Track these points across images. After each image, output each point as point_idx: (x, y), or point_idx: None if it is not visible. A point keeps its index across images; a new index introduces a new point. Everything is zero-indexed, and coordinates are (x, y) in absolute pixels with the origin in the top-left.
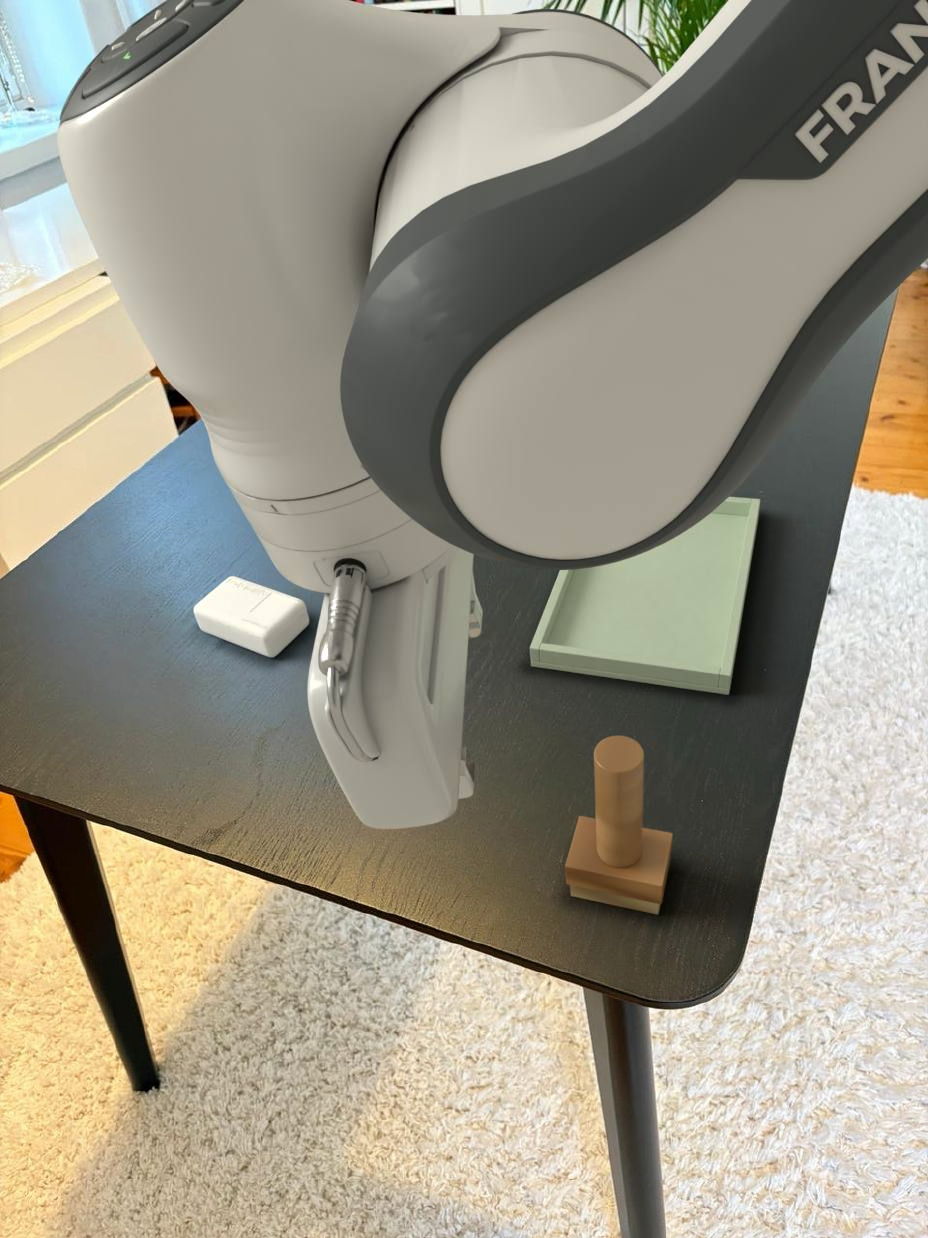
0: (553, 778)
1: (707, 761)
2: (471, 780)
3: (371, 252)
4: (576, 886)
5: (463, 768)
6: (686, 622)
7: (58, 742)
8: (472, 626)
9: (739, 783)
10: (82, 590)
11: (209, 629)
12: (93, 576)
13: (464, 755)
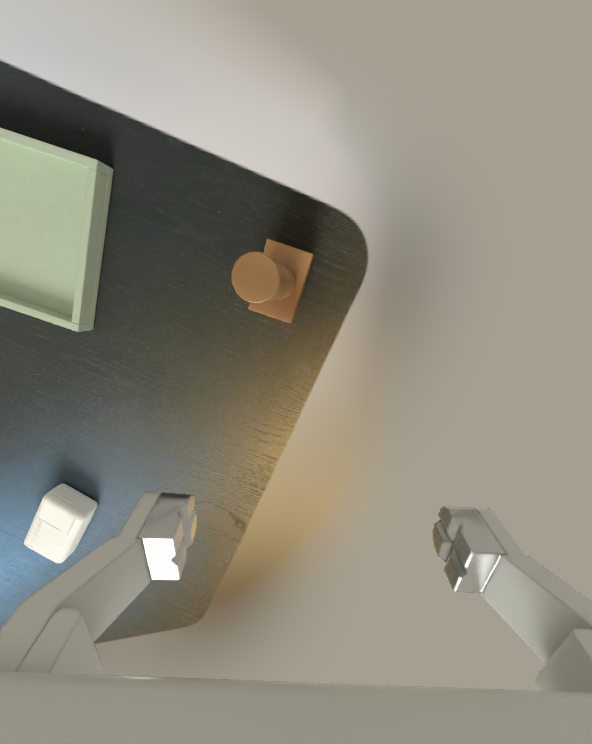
0: (198, 320)
1: (182, 200)
2: (488, 521)
3: None
4: (295, 314)
5: (527, 564)
6: (33, 192)
7: (172, 607)
8: (183, 516)
9: (203, 178)
10: None
11: (76, 545)
12: None
13: (488, 554)
